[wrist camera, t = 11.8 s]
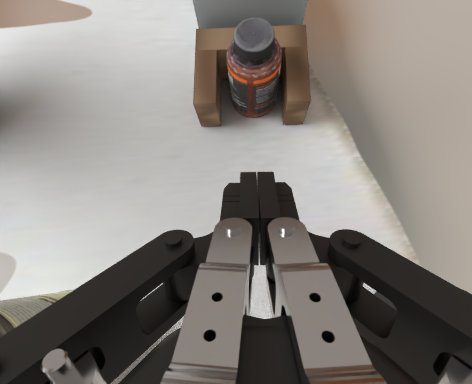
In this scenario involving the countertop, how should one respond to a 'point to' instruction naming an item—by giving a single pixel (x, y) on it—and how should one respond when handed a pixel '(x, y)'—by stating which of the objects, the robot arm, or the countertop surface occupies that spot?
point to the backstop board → (248, 12)
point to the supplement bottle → (254, 67)
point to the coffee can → (24, 309)
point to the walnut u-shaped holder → (215, 68)
